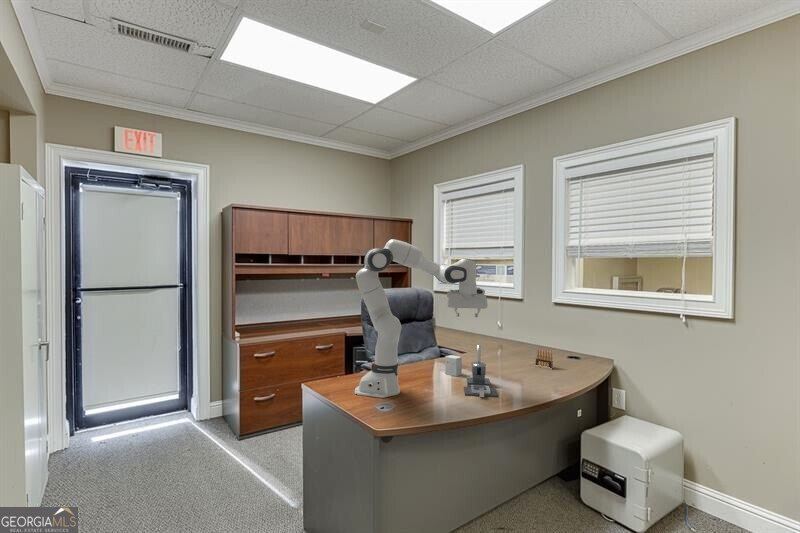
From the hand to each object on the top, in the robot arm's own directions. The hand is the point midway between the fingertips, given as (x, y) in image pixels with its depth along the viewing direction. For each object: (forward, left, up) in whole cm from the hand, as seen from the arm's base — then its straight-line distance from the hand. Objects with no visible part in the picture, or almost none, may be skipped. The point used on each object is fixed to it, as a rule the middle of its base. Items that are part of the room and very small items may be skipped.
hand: (467, 316), depth 208 cm
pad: (+7, -5, -37) cm, 38 cm away
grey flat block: (+7, -8, -36) cm, 38 cm away
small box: (-6, +26, -37) cm, 46 cm away
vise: (+7, +9, -37) cm, 39 cm away
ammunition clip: (+51, +52, -37) cm, 82 cm away
